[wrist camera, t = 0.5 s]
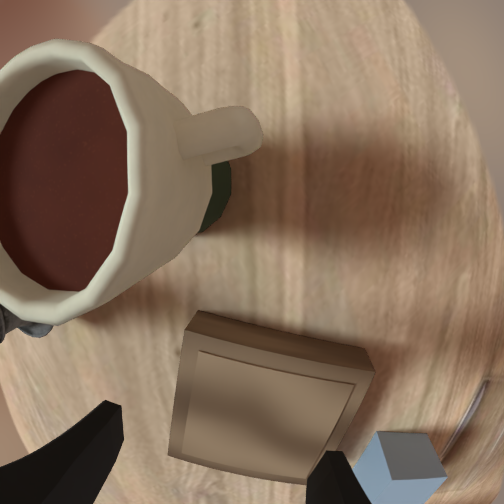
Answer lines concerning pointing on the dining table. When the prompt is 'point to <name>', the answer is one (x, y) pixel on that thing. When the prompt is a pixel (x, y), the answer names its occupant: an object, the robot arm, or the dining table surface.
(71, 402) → the dining table surface
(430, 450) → the blue block
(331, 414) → the walnut plinth
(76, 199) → the character mug
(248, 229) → the dining table surface
